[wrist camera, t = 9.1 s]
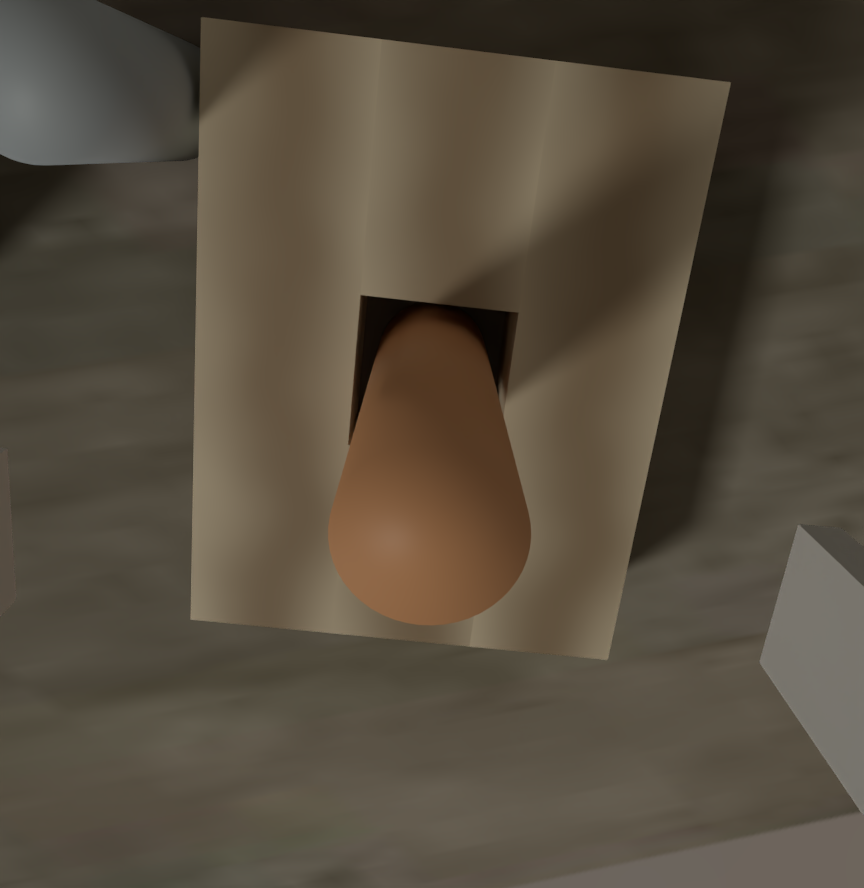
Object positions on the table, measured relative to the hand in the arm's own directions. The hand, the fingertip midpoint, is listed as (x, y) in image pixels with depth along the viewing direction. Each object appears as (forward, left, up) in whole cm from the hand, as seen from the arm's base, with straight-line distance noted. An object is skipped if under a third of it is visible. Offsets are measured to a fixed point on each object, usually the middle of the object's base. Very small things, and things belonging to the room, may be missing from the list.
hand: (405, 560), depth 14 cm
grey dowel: (-9, +7, -16) cm, 19 cm away
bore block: (0, 0, -16) cm, 16 cm away
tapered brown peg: (0, 0, -15) cm, 15 cm away
